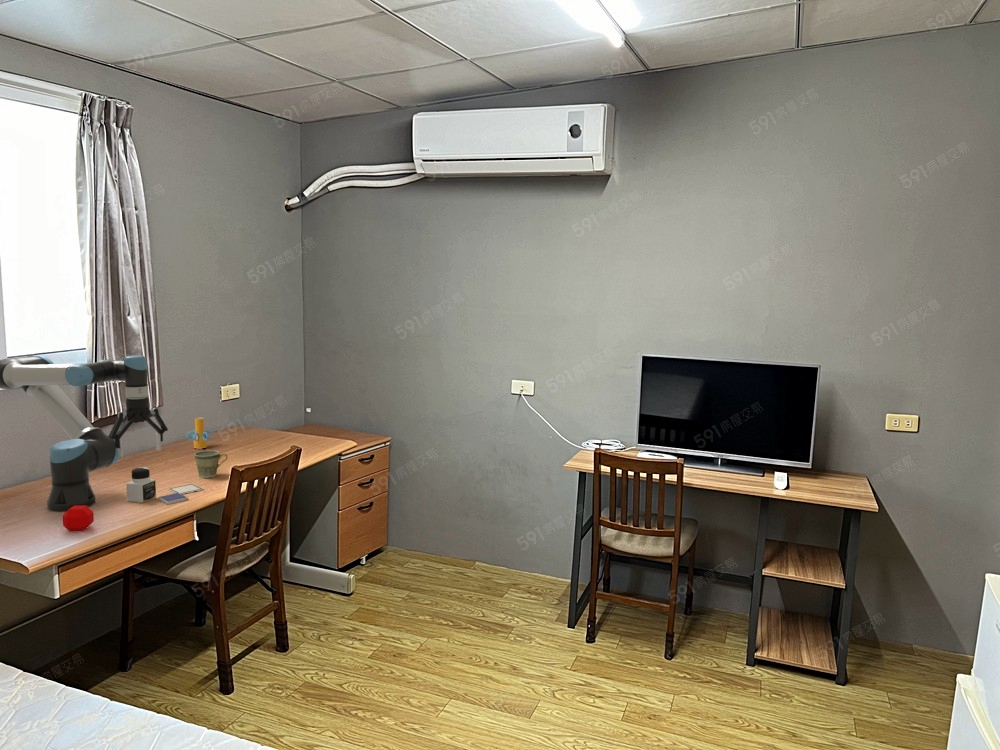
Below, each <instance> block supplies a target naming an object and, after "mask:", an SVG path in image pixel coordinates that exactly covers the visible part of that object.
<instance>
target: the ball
mask: <svg viewBox="0 0 1000 750" xmlns="http://www.w3.org/2000/svg"><path fill="white" fill-rule="evenodd" d="M94 515H95V513H94V510H92V509H91V508H90V506H89V507H88V506H86V505H85V506H73V507H72V508H70V509H69V510H68V511H65V513H64V514H63V515H62V527H64V528H65V529H66V530H67V531H68V532H71V531H81V532H84V531H86V529H88V528H89V527H90V525H92V524H93V523H94V522H95V517H94ZM87 527H88V528H87ZM71 533H72V532H71Z"/></svg>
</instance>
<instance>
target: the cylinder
mask: <svg viewBox="0 0 1000 750" xmlns="http://www.w3.org/2000/svg"><path fill="white" fill-rule="evenodd" d="M194 422H195V423H194V426H195V427H194V428H195V429H193V430H192V431H188V432H186V439H187V440H188V441H193V449H194V448H206V447H207V448H208V440H210V439H212V438H213V437H214V432H213V431H212V430H205V418H204V417H196V418H194ZM208 433H211V436H209V434H208ZM190 434H191V435H192V438H190V437H189V436H190ZM207 448H206V449H207Z"/></svg>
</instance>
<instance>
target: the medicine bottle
mask: <svg viewBox="0 0 1000 750" xmlns="http://www.w3.org/2000/svg"><path fill="white" fill-rule="evenodd" d="M150 471H151V470H150V468H148V467H137V468H134V469H132V470H131V481H128V482H126V498H127V500H126V501H127V502H130V501H131V502H132V503H140V502H141V503H142V504H143V503H146V501H147V502H149V501H151V500H153V499H155V497H156V498H157V490H156V489H157V488H156V487H157V486H156V479H154V478H151V475H150Z"/></svg>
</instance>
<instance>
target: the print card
mask: <svg viewBox="0 0 1000 750" xmlns="http://www.w3.org/2000/svg"><path fill="white" fill-rule="evenodd" d="M203 489H204V488H203V487H200V486H199V485H196V484H195V483H189V484H185V485H180V486H175V487H169V488H167V491H169V492H172V494H175V493H180V494H183V495H186V494H185V493H188V494H190V492H192V493H195V492H194V491H197V492H199V491H198V490H202V491H204V490H203Z"/></svg>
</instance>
